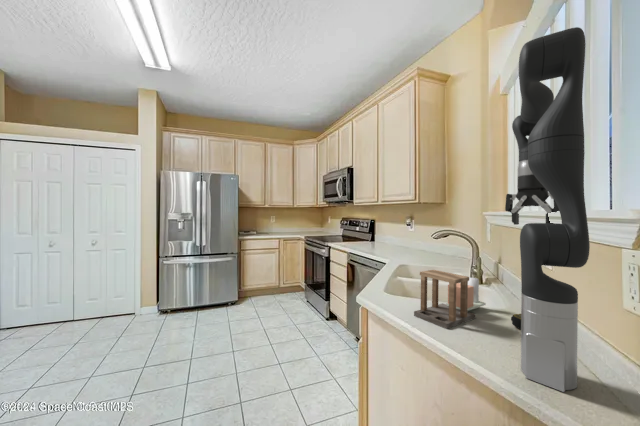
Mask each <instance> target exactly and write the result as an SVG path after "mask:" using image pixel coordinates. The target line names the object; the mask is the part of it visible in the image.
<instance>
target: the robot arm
mask: <svg viewBox="0 0 640 426" xmlns="http://www.w3.org/2000/svg"><path fill="white" fill-rule="evenodd" d="M585 59H586V36H585V32H584V31H583V28H581V27H579V26H576V27H571V28H567V29H563V30H560V31H557V32H552V33H549V34H546V35H544V36H540V37H536V38H534V39H532V40H529V41H527V42H526V43H524V44H523V45H522V47H521V49H520V52H519V58H518V80H519V90H520V96H521V106H520V107H521V108H520V114H519V115H518V116H516V117H515V118H514V120H513V121H512V123H511V125H512V126H511V127H512V131H513V132H512V133H513V134H514V137H515V140H516V143H517V148H518V166H517V192H516V194H514V193H507V194H505V207H504V211H505V212H508V213H511V223H513V225H516V226H517V225H519V224H520V213H519V212H520V211H521V210H522V209H523V208H524V207H541V208H542V209H543V210H544V212H546V213H545V222H544V223H543V222H542V223H541V222H530V223H526V224H524V225H523V226H522V228H521V229H520V234H519V250H520V265H521V267H520V269H521V270H520V271H521V273H520V275H521V276H520V277H521V278H520V279H521V290H520V291H521V297H520V299H521V304H520V305H521V307H520V309H521V310H520V314H521V329H520V370H521V371H522V372H523V374H524V376H525V378H526V379H527V380H530V381H533V382H536V383H538V384H540V385H544V386H546V387H550V388H553V389H555V390H557V391H560V392H563V393H565V392H566V391H570V390H575V389H576V388H578V333H579V332H578V329H579V328H578V326H579V325H578V323H579V322H578V321H579V320H578V318H579V316H578V313H579V311H578V309H579V305H578V304H579V303H578V302H579V293H578V292H579V291H578V290H577V288H576V287H574V286H573V285H571V284H568V283H566V282H563V281H560V280H557V279H556V278H553V277H551V276H550V275H548V274H546V273H544V270H543V266H547V267H558V268H560V267H561V268H575V269H578V268H582V267H585V265H586V264H587V263H588V260H589V257H590V247H591V245H590V243H591V242H590V233H589V226H588V218H587V208H586V200H585V199H586V198H585V153H586V151H585V128H584V127H585V125H584V112H583V111H584V109H583V108H584V107H583V96H584V95H583V93H584V92H583V90H584V78H585V77H584V76H585V75H584V74H585V61H586V60H585ZM557 78H562V83H561V86H560V88H559V90H558V93H557V94H556V96H554V92H553V90H552V89H551V88H550V87H548V86H547V84H544V83H542V81H547V80H553V79H557ZM548 198H551V200H553V207H552V206H551V205H550V204H549V203H548V202H547V201H546V200H548ZM515 200H518V202H516V204H515V206H514V207H513V205H514V201H515ZM557 211H559V215H560V219H561V223H550V221H549V217H548V213H551V212H555V213H558V212H557Z"/></svg>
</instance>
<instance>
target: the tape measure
mask: <svg viewBox="0 0 640 426" xmlns="http://www.w3.org/2000/svg"><path fill="white" fill-rule="evenodd" d="M510 320H511V323H512V326H513V327H515V328H518V329H520V330H521V313H515V314H513V315H512V316H511V317H510Z"/></svg>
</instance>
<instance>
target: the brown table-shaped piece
mask: <svg viewBox="0 0 640 426" xmlns="http://www.w3.org/2000/svg"><path fill="white" fill-rule="evenodd" d="M419 276H420V309H418V310H414V311H413V316H414V317H416V318H418V319H421V320H424V321H426V322H428V323H431V324H433V325H436V326H439V327H441V328H444V329H446V330H448V329H450V328H453V327H456V326H459V325H461V324H465V323H466V322H469V321H472V320H475V319H476V313H474V312H471V311H467V300H468V281H469V278H470V276H466V275H462V274H457V273H456V274H455V273H451V272H446V271H442V270H437V269H430V270H429V269H428V270H423V271H419ZM428 278H430V279H432V282H431V288H432V289H431V294H432V295H431V306H429V307H428ZM439 281H442V282H447V283H448V285H449V306H447V305H446V304H447V303H446V304H445V303H440V304H439V284H440V283H439ZM456 283H461V295H460V310H459V309H456Z"/></svg>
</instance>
